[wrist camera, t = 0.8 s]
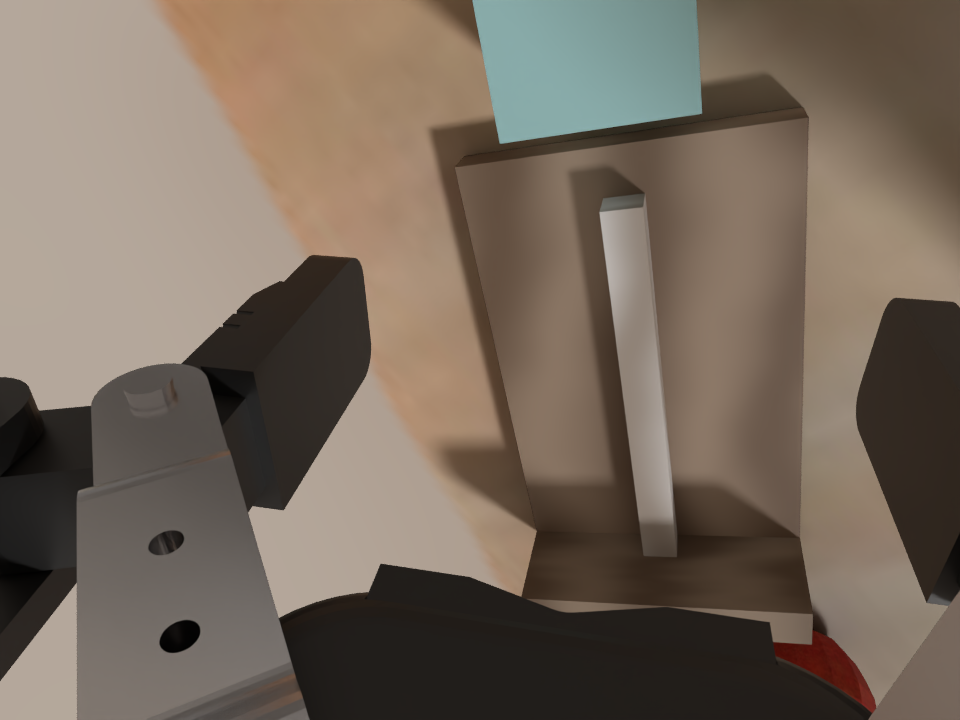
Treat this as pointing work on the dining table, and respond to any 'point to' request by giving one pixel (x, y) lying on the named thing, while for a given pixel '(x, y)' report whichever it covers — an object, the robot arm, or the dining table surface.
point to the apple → (828, 666)
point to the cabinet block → (588, 63)
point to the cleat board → (703, 353)
